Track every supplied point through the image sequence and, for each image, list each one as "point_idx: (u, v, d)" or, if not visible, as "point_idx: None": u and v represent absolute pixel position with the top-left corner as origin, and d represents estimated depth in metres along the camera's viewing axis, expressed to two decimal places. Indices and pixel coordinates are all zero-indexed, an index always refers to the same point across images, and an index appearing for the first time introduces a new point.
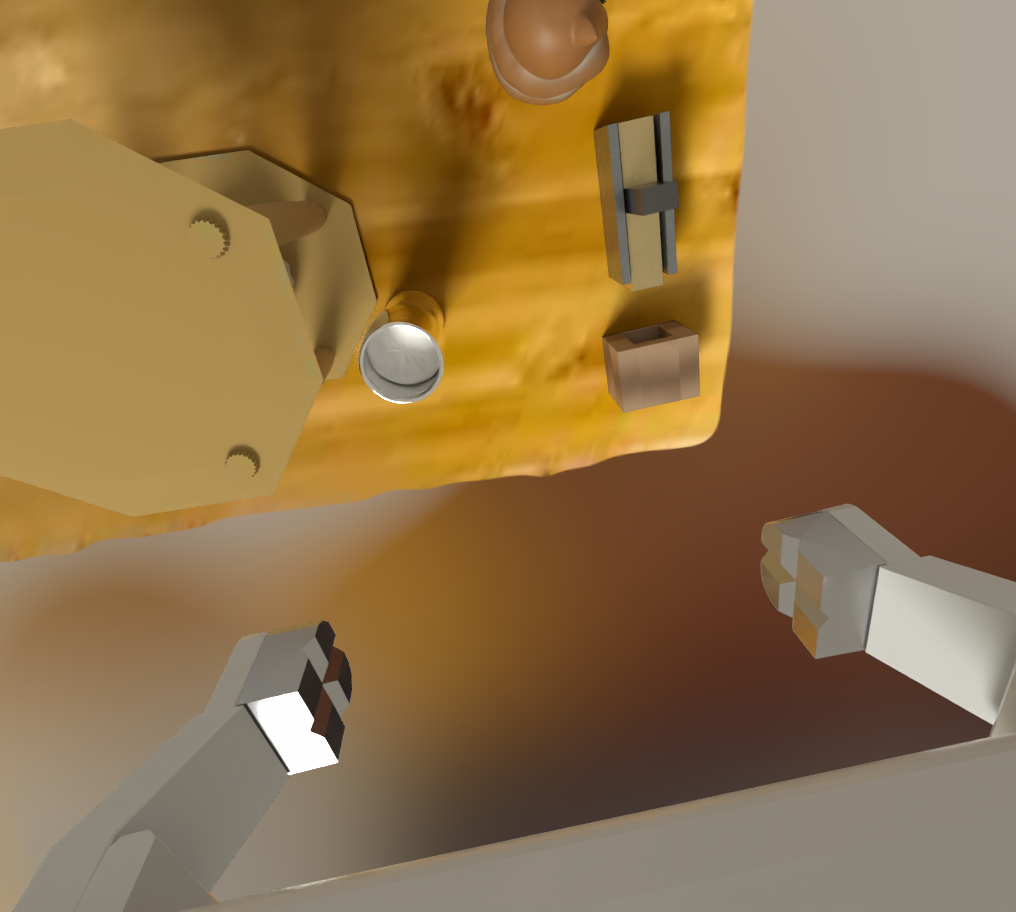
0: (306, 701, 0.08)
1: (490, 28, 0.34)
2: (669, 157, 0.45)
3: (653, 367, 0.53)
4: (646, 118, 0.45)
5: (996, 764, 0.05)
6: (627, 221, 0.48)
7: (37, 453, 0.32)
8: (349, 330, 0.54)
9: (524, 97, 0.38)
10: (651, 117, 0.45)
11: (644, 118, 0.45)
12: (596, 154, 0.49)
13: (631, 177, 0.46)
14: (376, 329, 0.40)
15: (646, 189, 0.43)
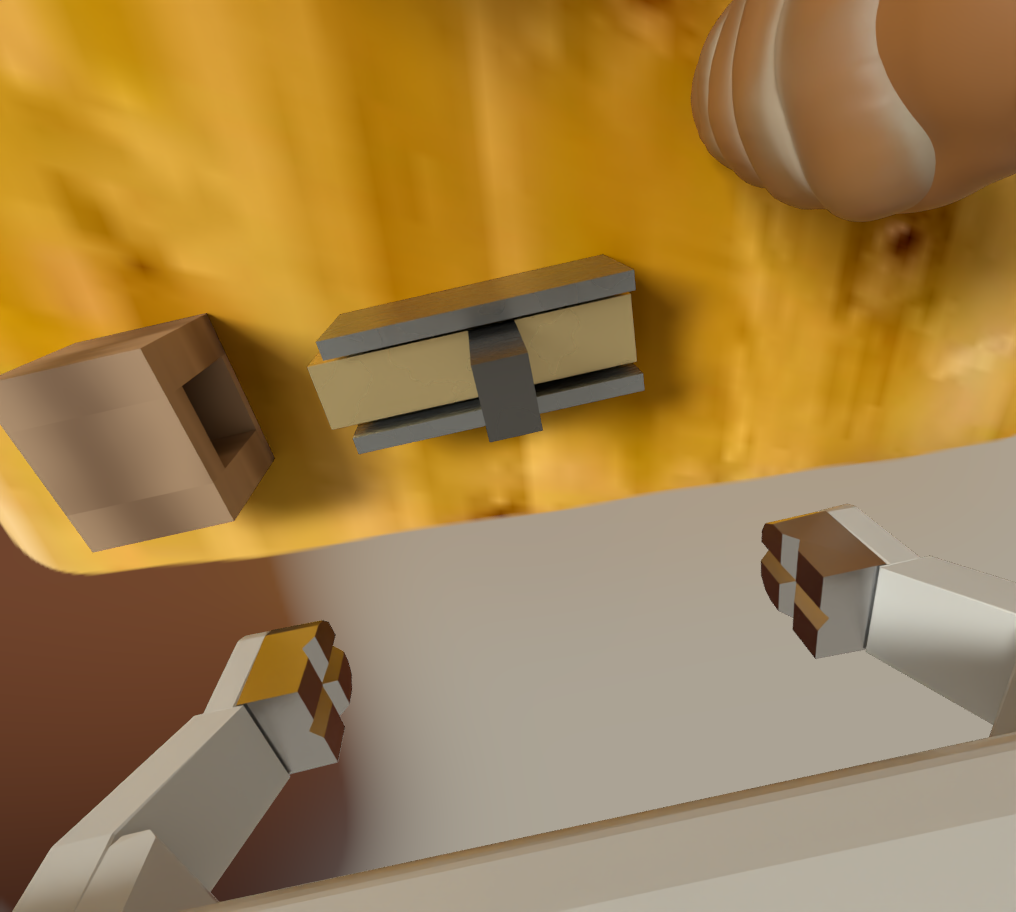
0: (306, 701, 0.08)
1: None
2: (570, 402, 0.23)
3: (127, 441, 0.21)
4: (632, 349, 0.23)
5: (998, 764, 0.05)
6: (451, 335, 0.22)
7: None
8: None
9: None
10: (633, 358, 0.24)
11: (633, 345, 0.23)
12: (564, 263, 0.25)
13: (535, 334, 0.23)
14: None
15: (527, 365, 0.18)
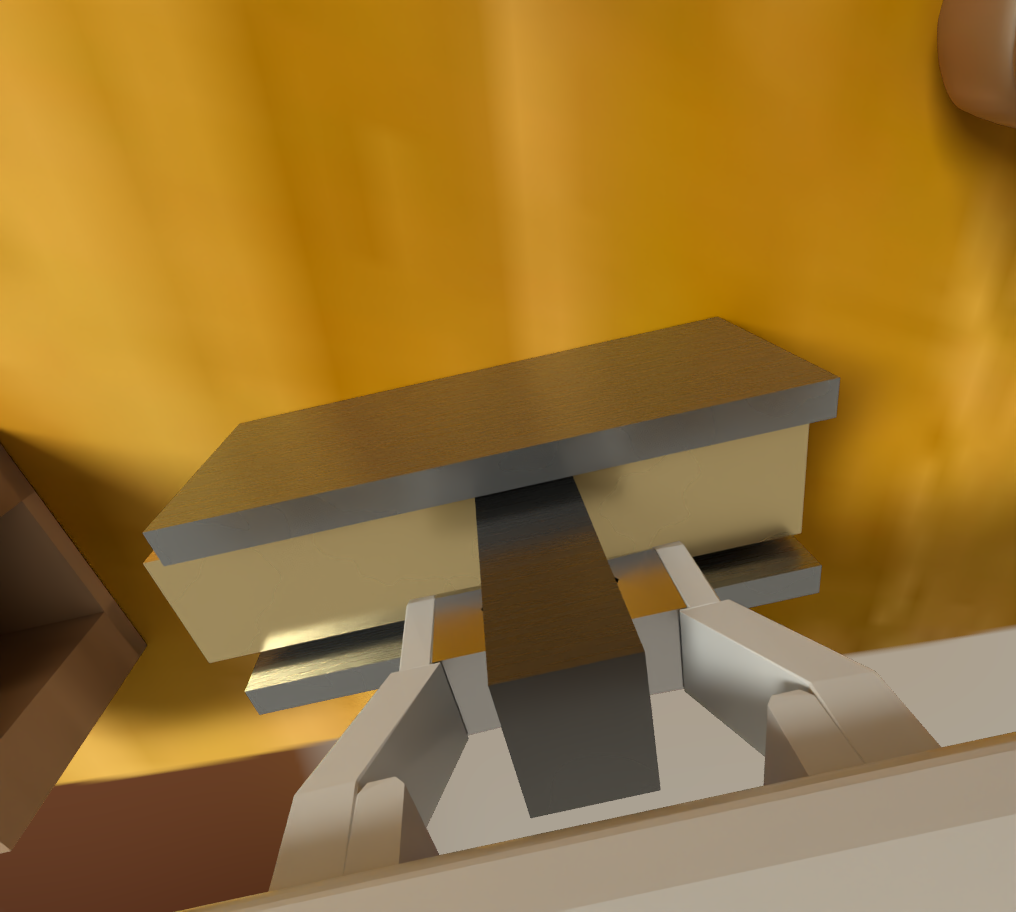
0: None
1: None
2: None
3: None
4: (797, 513, 0.12)
5: (997, 766, 0.05)
6: None
7: None
8: None
9: None
10: (795, 528, 0.12)
11: (799, 507, 0.12)
12: (648, 334, 0.14)
13: (610, 492, 0.11)
14: None
15: (638, 678, 0.07)
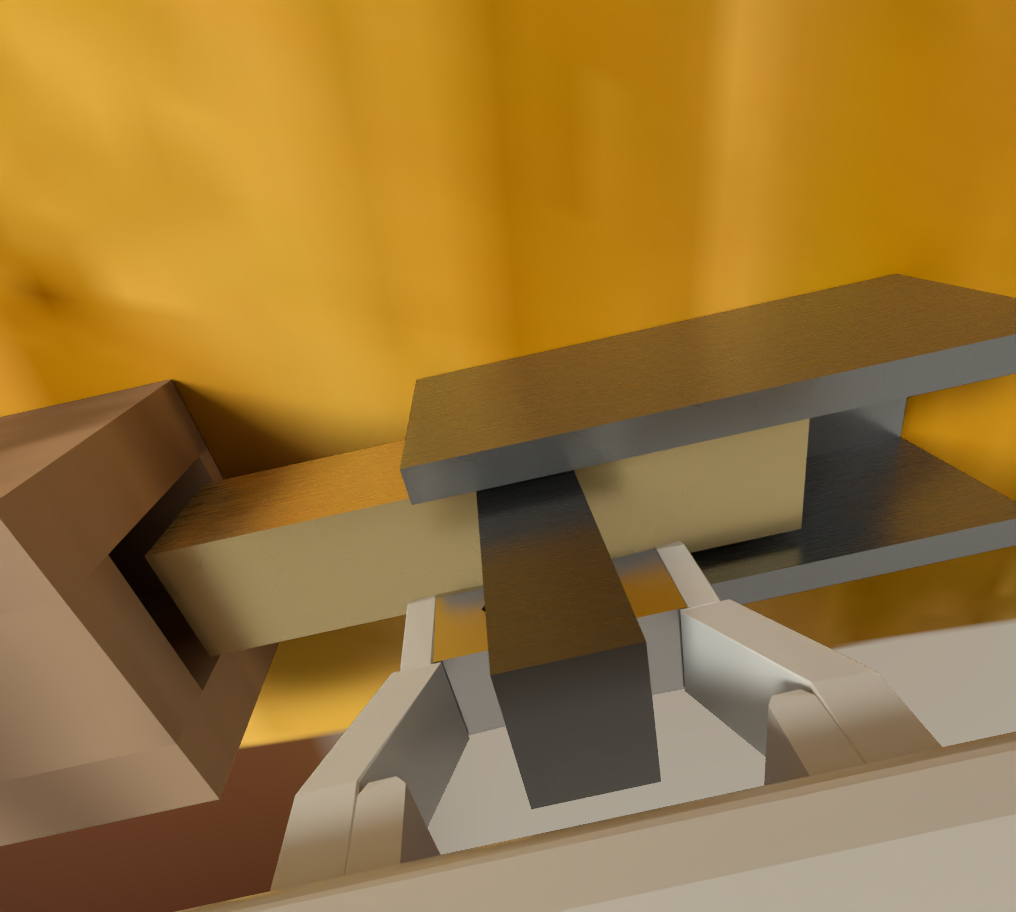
0: None
1: None
2: (883, 567, 0.12)
3: None
4: (797, 509, 0.12)
5: (997, 766, 0.05)
6: None
7: None
8: None
9: None
10: (795, 524, 0.12)
11: (799, 502, 0.12)
12: (829, 290, 0.14)
13: (611, 487, 0.11)
14: None
15: (640, 668, 0.07)
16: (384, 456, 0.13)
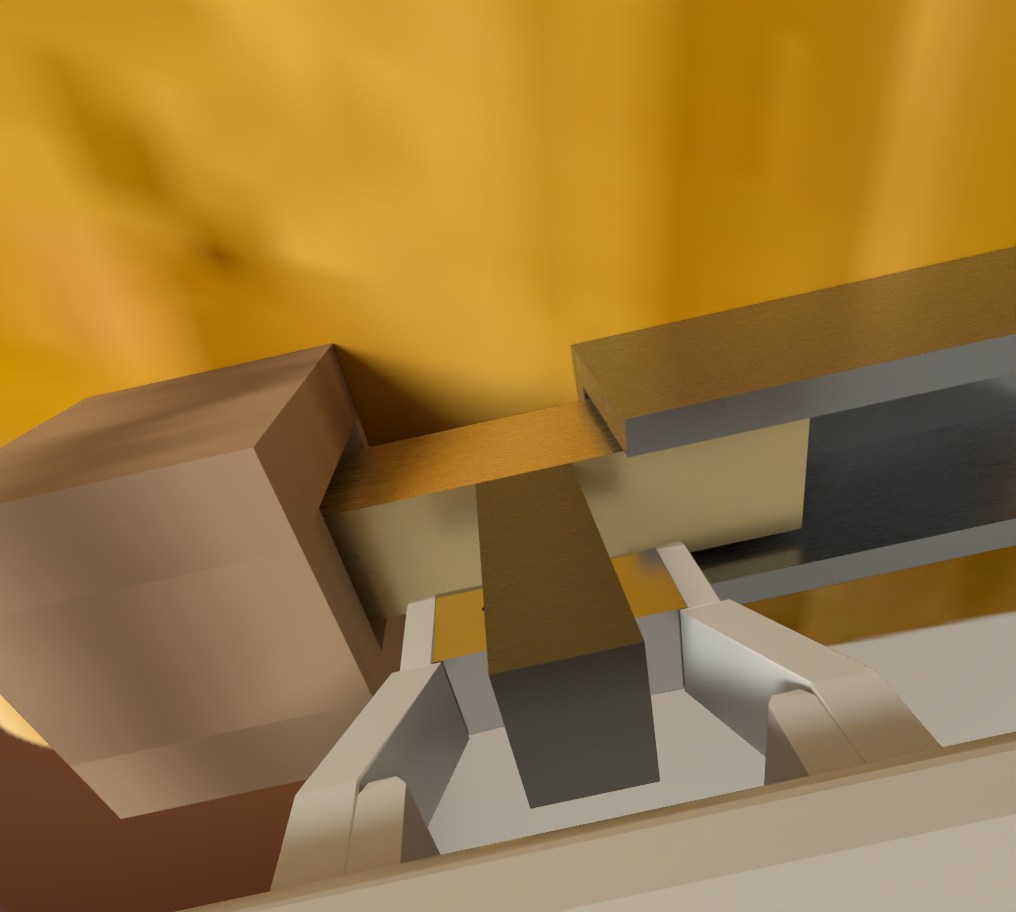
0: None
1: None
2: None
3: (206, 635, 0.10)
4: (797, 508, 0.12)
5: (997, 765, 0.05)
6: (440, 493, 0.11)
7: None
8: None
9: None
10: (796, 524, 0.12)
11: (799, 502, 0.12)
12: (989, 254, 0.14)
13: (611, 487, 0.11)
14: None
15: (638, 669, 0.07)
16: (384, 456, 0.13)
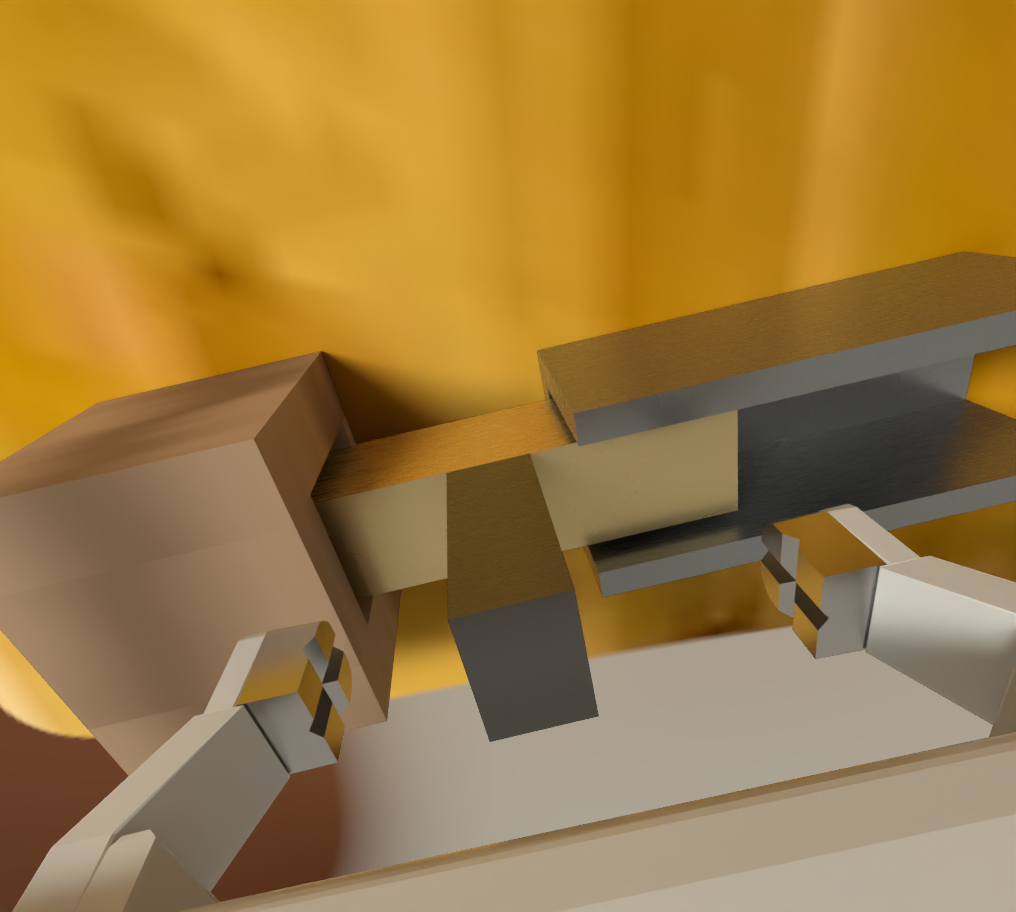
0: (306, 701, 0.08)
1: None
2: (971, 505, 0.14)
3: (212, 606, 0.11)
4: (733, 492, 0.14)
5: (999, 765, 0.05)
6: (416, 481, 0.12)
7: None
8: None
9: None
10: (732, 506, 0.14)
11: (734, 486, 0.13)
12: (905, 266, 0.16)
13: (566, 474, 0.13)
14: None
15: (571, 613, 0.08)
16: (367, 451, 0.14)
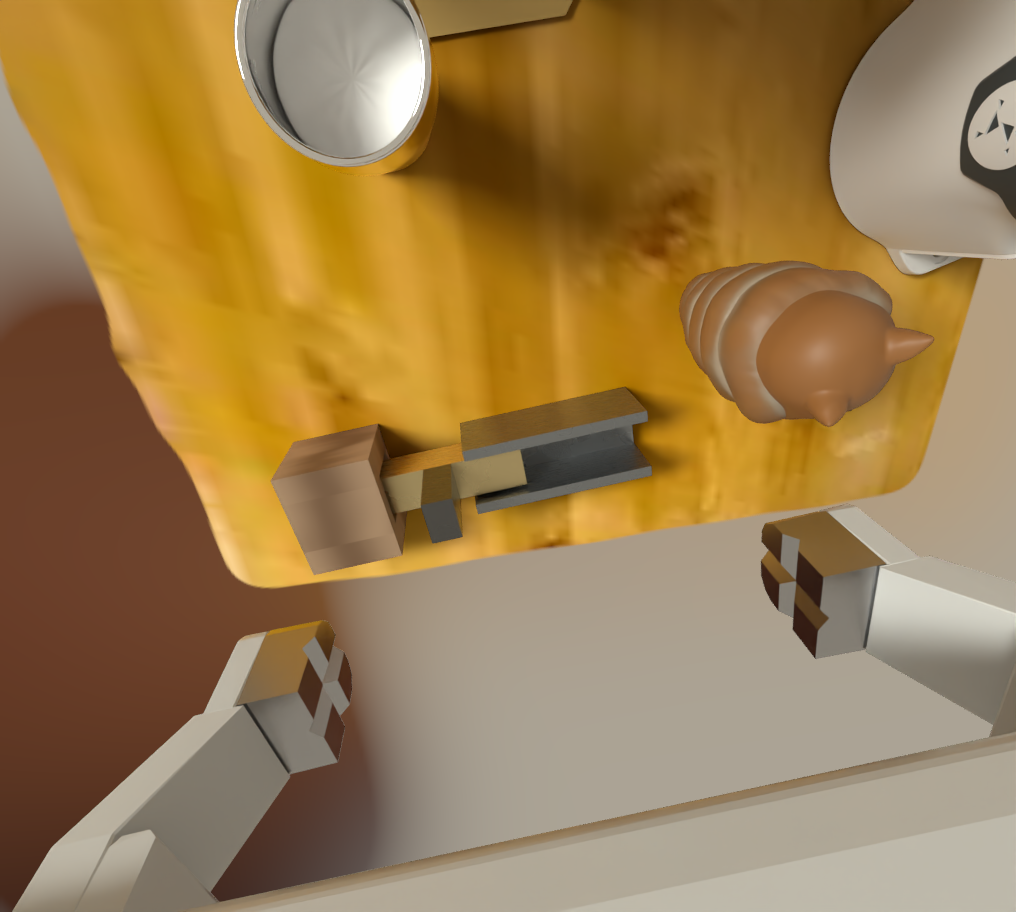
0: (306, 701, 0.08)
1: (816, 270, 0.26)
2: (607, 483, 0.39)
3: (349, 510, 0.36)
4: (524, 477, 0.39)
5: (998, 764, 0.05)
6: (413, 472, 0.38)
7: None
8: None
9: (719, 315, 0.28)
10: (525, 482, 0.39)
11: (524, 475, 0.39)
12: (601, 393, 0.41)
13: (463, 470, 0.38)
14: (412, 2, 0.18)
15: (451, 505, 0.34)
16: (395, 461, 0.40)
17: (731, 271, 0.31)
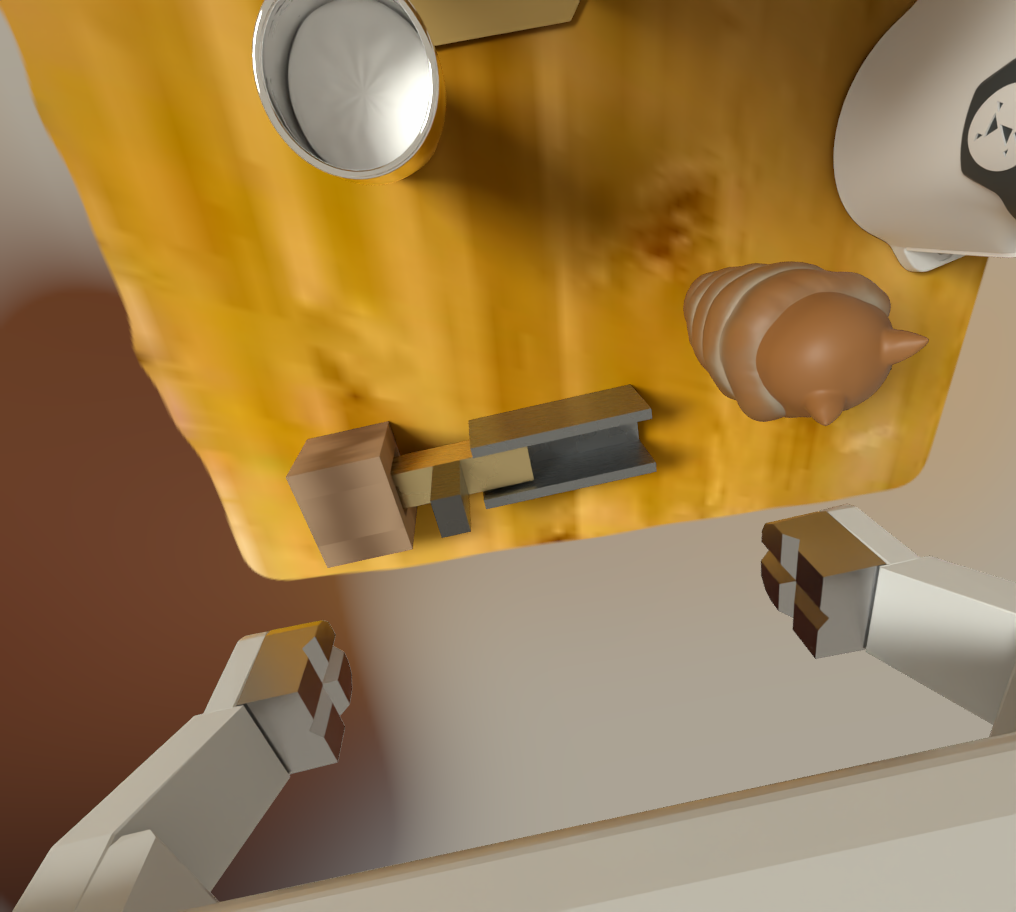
0: (306, 701, 0.08)
1: (815, 272, 0.26)
2: (612, 479, 0.40)
3: (361, 505, 0.38)
4: (530, 473, 0.40)
5: (997, 766, 0.05)
6: (422, 468, 0.39)
7: None
8: None
9: (721, 315, 0.29)
10: (531, 478, 0.40)
11: (531, 471, 0.40)
12: (606, 390, 0.42)
13: (472, 467, 0.39)
14: (420, 22, 0.19)
15: (460, 500, 0.35)
16: (405, 458, 0.41)
17: (733, 272, 0.31)
